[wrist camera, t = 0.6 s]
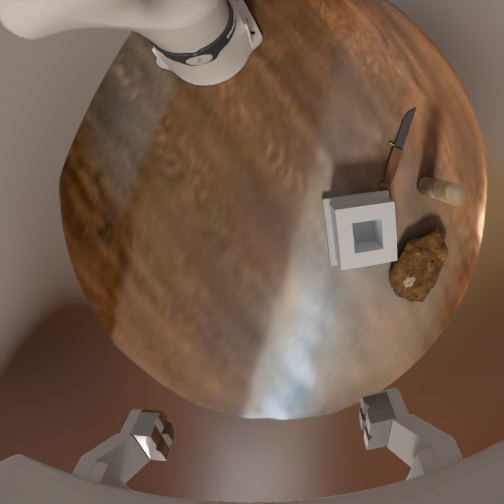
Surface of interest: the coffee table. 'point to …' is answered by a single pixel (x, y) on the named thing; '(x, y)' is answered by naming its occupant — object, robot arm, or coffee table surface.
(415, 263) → the decorative rock
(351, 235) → the socket
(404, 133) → the knife
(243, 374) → the coffee table surface
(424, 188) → the peg
